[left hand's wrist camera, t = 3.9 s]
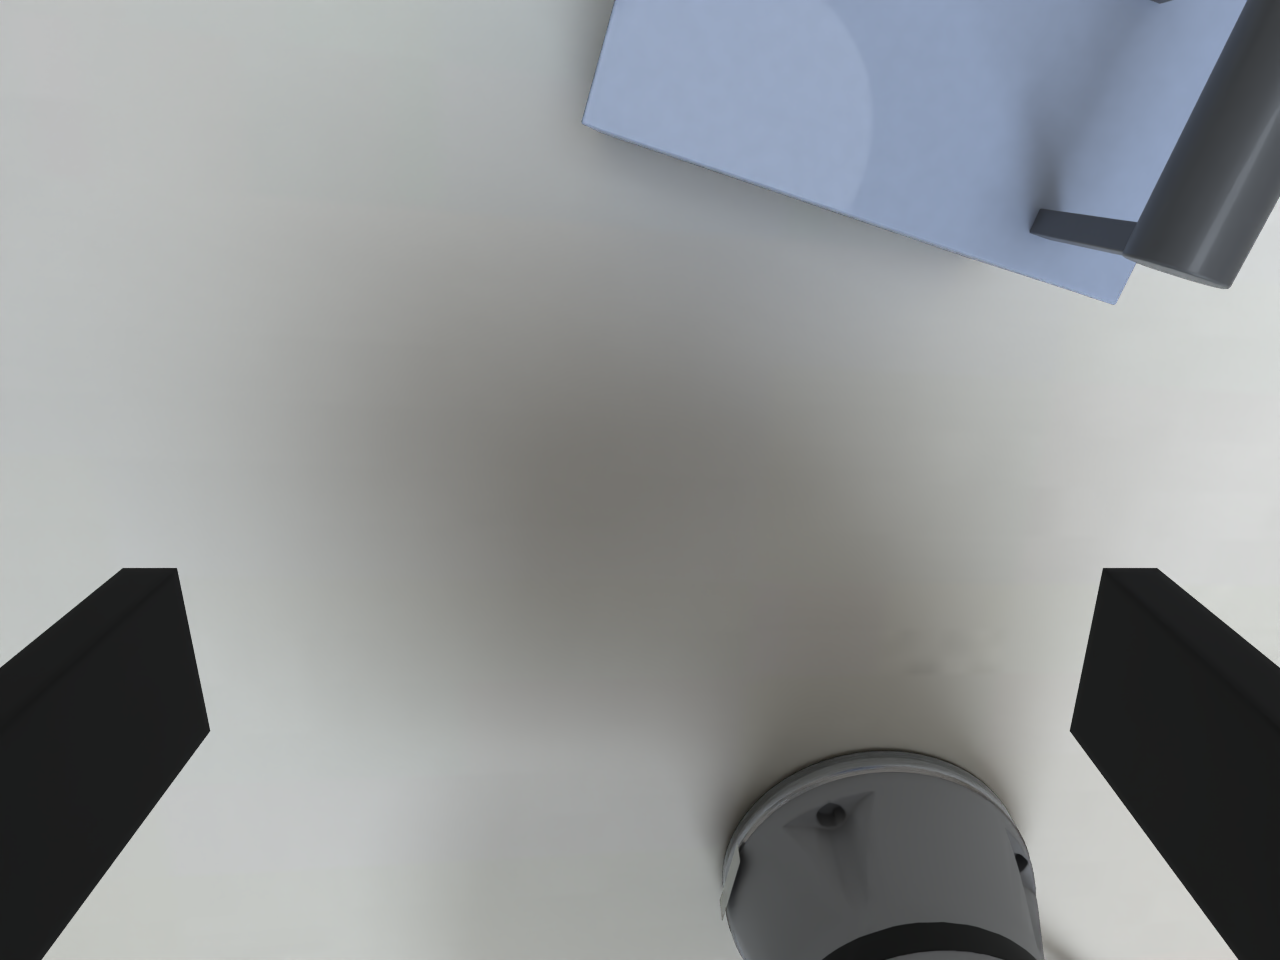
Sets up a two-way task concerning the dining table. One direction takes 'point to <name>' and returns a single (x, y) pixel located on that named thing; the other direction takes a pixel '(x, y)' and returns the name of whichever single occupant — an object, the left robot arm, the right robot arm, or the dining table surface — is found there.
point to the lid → (976, 120)
